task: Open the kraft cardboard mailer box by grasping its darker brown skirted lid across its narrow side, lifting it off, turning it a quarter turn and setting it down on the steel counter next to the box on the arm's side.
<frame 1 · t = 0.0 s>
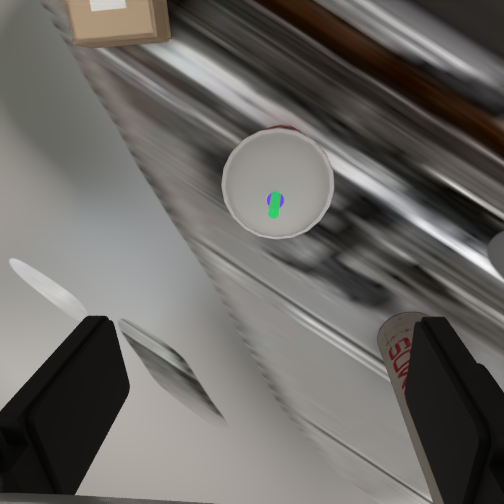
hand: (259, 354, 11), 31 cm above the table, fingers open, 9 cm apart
smoothie: (281, 156, 39), on the table
thermos bottle: (408, 336, 47), on the table
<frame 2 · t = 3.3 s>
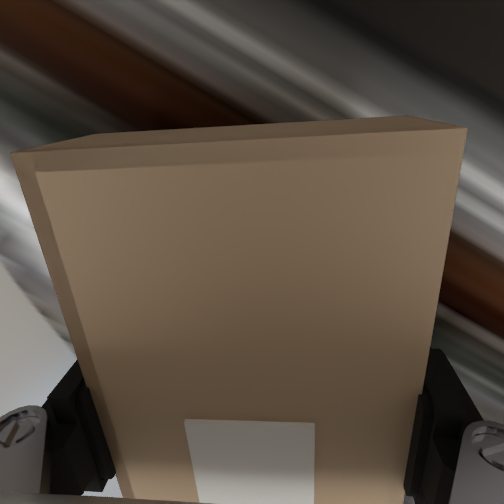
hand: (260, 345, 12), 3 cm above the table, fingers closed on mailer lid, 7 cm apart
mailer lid: (259, 351, 11), point 4 cm above the table, touching gripper, mailer box
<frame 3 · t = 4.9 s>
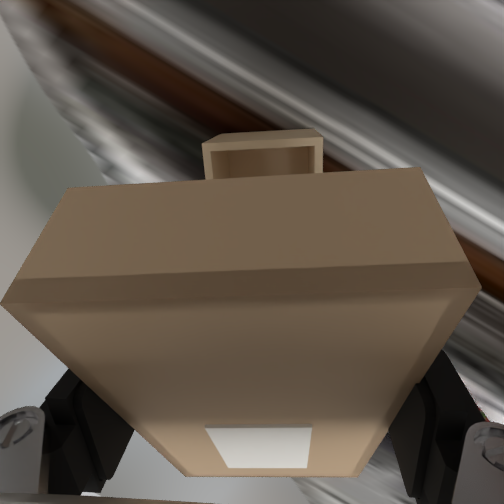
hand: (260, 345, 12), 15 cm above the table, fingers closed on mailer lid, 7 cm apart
mailer box: (270, 219, 25), on the table
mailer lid: (259, 336, 12), point 14 cm above the table, tilted 25°, touching gripper
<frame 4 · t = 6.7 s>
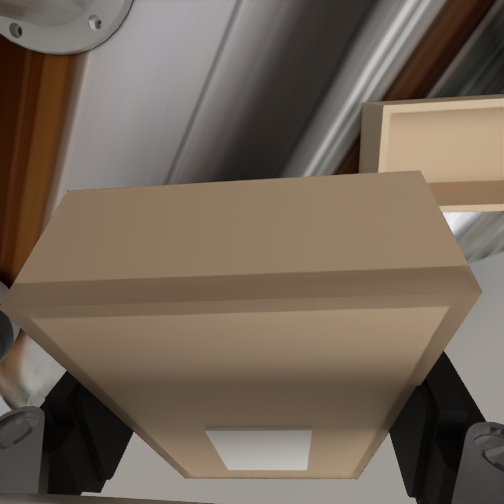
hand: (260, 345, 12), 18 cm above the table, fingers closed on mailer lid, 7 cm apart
mailer box: (448, 143, 25), on the table
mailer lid: (259, 338, 12), point 17 cm above the table, tilted 24°, touching gripper
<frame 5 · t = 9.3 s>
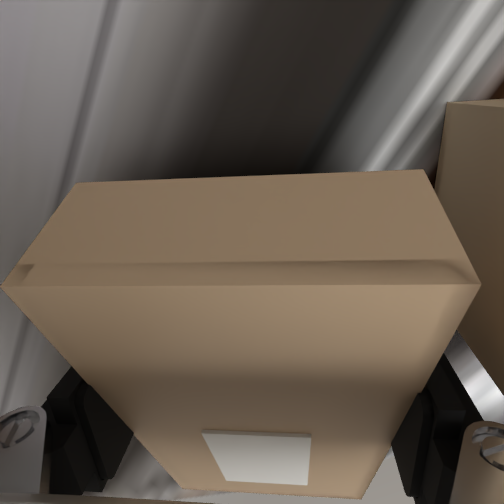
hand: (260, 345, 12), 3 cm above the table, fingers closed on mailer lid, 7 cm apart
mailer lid: (262, 344, 12), point 2 cm above the table, tilted 20°, touching gripper
when the fingers open (2 cm above the table, at t = 10.3 s): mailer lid drops 2 cm, on the table.
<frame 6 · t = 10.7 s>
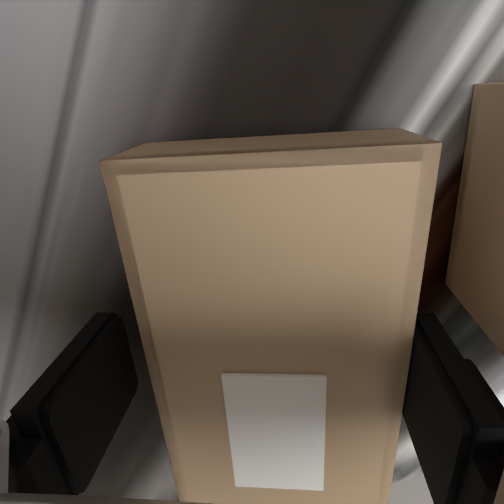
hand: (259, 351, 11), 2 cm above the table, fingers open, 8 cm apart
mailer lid: (276, 325, 13), on the table
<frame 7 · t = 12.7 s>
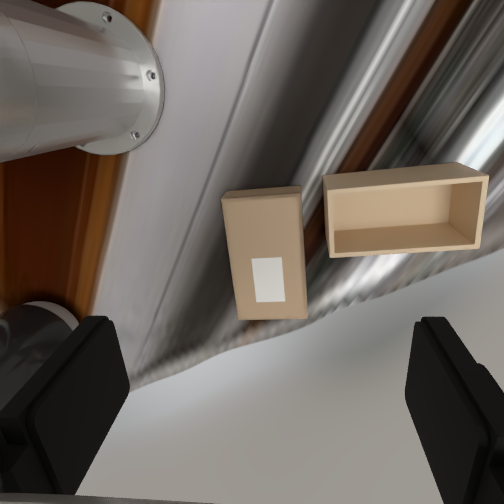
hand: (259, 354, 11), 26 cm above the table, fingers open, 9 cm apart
dark rounded piece: (58, 321, 46), on the table
mailer box: (387, 200, 35), on the table
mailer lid: (269, 250, 38), on the table
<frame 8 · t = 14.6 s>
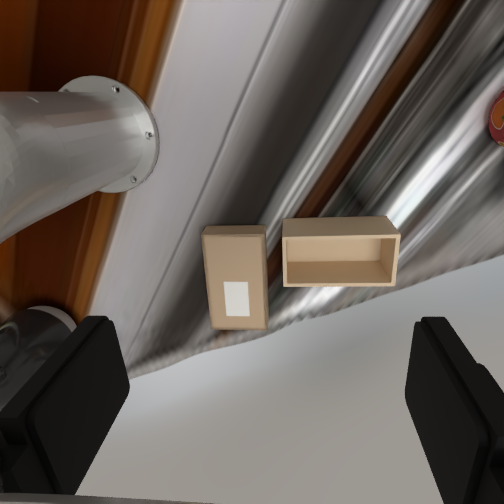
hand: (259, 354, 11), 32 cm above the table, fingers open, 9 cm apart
dark rounded piece: (57, 323, 53), on the table
mailer box: (333, 240, 44), on the table
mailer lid: (239, 273, 47), on the table
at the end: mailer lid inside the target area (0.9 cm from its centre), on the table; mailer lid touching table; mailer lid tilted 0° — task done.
